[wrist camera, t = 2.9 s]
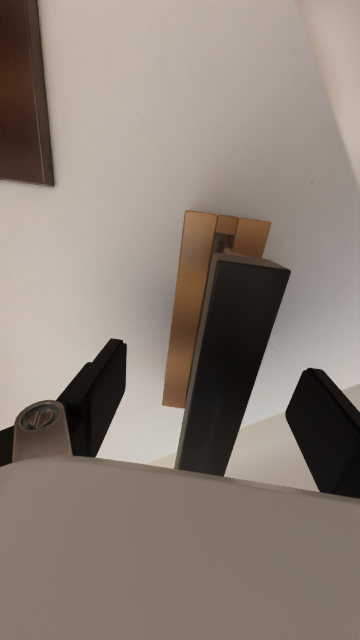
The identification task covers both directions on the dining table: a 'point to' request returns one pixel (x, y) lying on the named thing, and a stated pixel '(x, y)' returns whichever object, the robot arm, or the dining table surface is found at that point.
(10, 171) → the cake
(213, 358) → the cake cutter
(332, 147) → the dining table surface
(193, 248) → the knife block
